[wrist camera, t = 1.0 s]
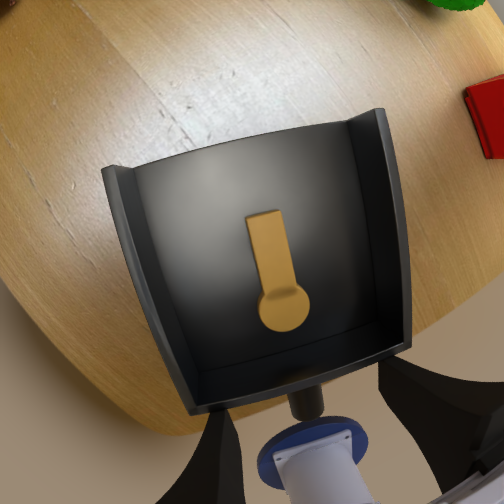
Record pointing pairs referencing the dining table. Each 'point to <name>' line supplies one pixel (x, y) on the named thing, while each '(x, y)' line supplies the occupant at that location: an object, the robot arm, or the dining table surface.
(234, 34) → the dining table surface
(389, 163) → the grey sheet metal tray
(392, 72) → the dining table surface
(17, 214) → the dining table surface
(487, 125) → the french fries container
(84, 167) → the dining table surface
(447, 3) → the ornament
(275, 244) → the spoon
